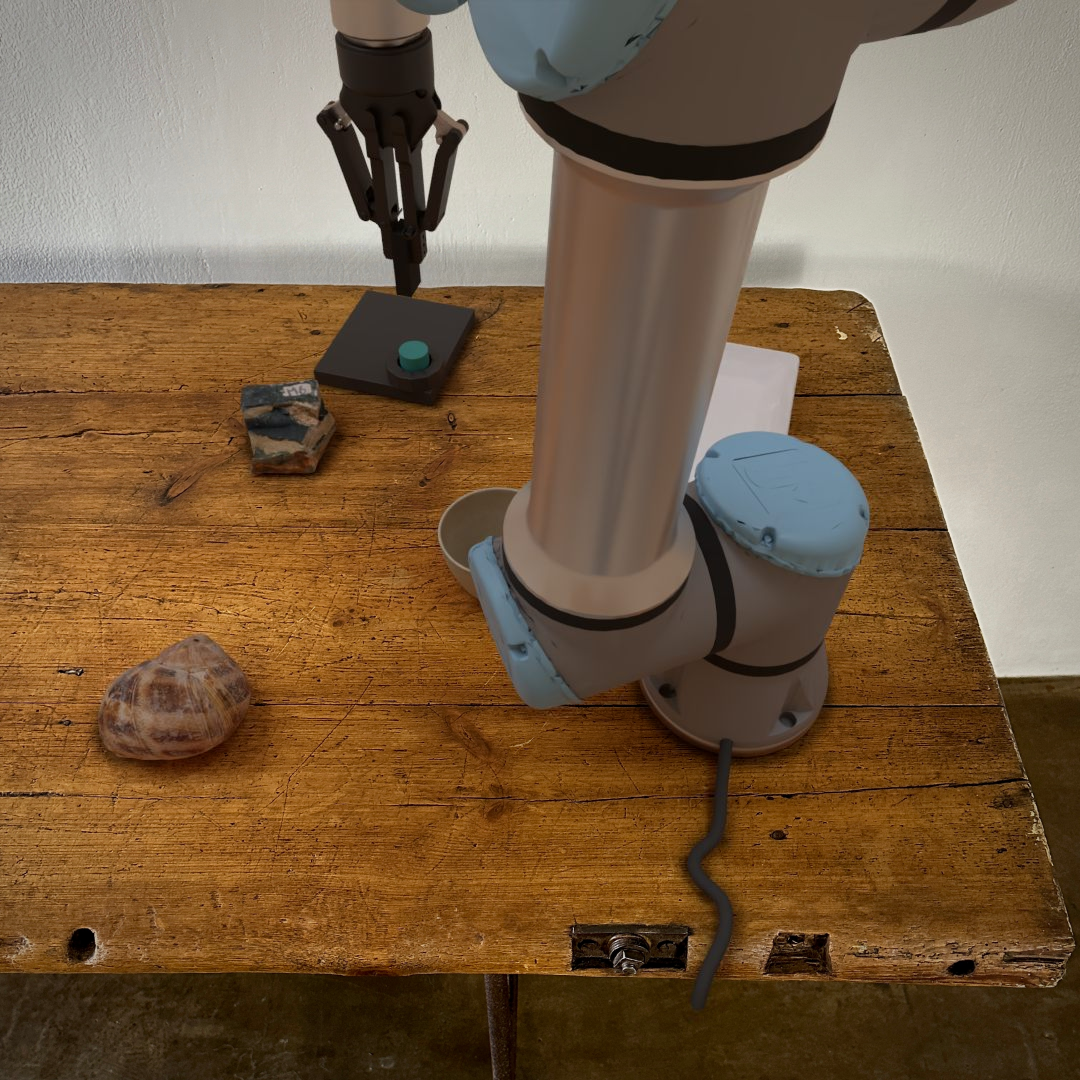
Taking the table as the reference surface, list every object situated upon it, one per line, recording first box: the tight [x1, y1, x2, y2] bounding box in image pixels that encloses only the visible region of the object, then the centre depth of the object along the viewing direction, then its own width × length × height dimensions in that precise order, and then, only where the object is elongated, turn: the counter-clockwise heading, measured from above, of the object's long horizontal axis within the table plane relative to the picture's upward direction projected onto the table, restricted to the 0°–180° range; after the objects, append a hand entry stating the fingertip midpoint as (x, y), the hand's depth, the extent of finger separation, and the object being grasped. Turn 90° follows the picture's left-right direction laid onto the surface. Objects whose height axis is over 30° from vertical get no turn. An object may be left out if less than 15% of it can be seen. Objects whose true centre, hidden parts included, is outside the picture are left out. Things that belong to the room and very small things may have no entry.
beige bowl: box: [437, 486, 520, 601], centre depth 83 cm, size 10×10×7 cm
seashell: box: [97, 633, 252, 761], centre depth 74 cm, size 10×9×10 cm
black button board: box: [312, 289, 476, 407], centre depth 105 cm, size 15×13×4 cm
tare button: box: [399, 341, 429, 372], centre depth 100 cm, size 3×3×2 cm
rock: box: [240, 378, 338, 475], centre depth 95 cm, size 9×9×6 cm
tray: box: [688, 341, 801, 483], centre depth 95 cm, size 17×32×4 cm, turn 164°
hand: (409, 288), depth 93 cm, fingers closed
